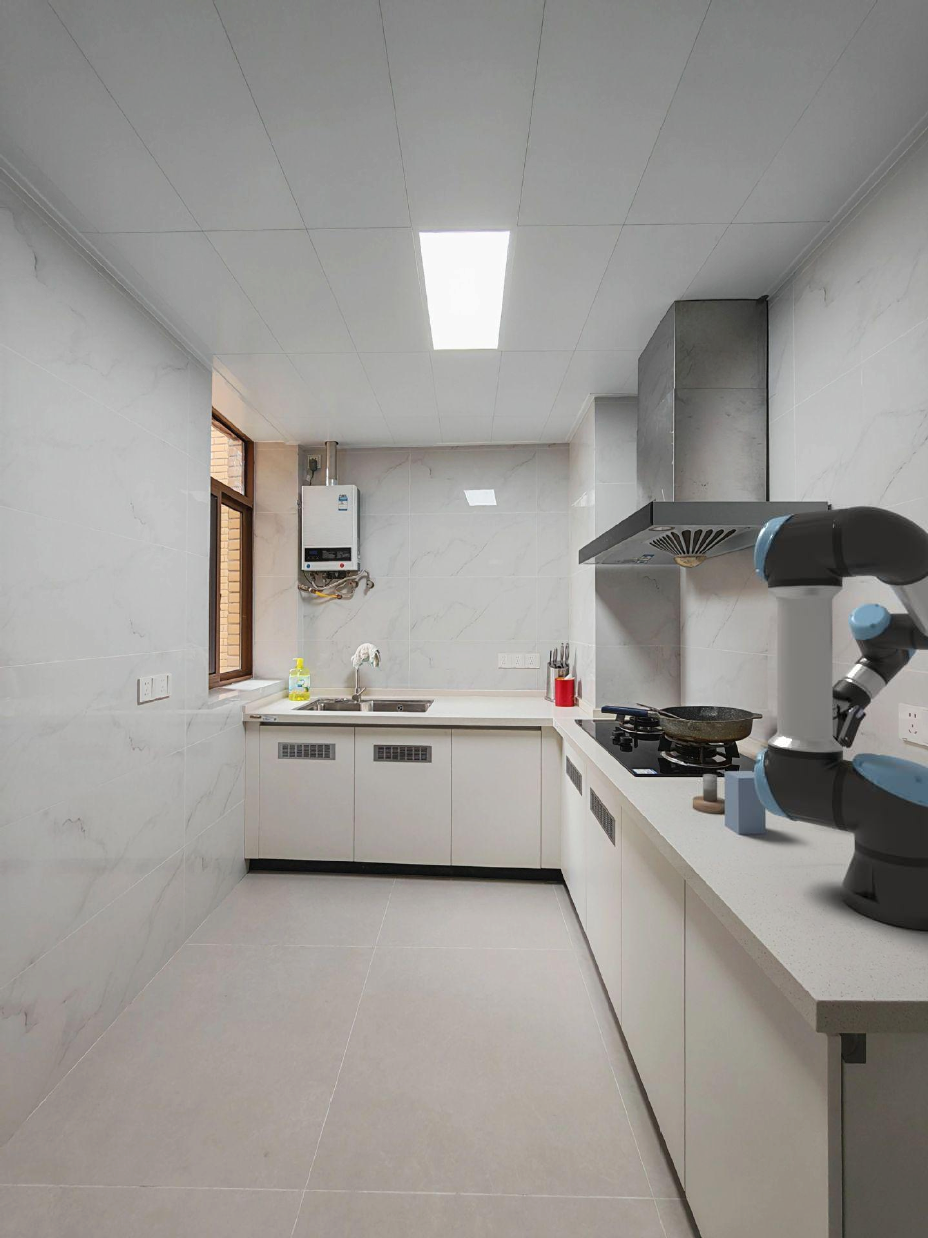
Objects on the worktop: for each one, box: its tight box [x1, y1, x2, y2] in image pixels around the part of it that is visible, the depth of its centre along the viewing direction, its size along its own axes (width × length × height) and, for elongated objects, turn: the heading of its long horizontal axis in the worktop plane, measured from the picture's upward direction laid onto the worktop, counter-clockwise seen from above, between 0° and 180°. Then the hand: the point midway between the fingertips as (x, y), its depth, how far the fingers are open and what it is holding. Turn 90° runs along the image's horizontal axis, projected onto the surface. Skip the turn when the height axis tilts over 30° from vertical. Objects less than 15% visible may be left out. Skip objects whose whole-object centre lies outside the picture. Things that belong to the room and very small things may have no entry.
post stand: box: [692, 773, 725, 815], centre depth 151 cm, size 8×8×8 cm
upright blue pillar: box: [723, 770, 767, 835], centre depth 136 cm, size 6×6×12 cm
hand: (791, 759), depth 137 cm, fingers open, 13 cm apart
